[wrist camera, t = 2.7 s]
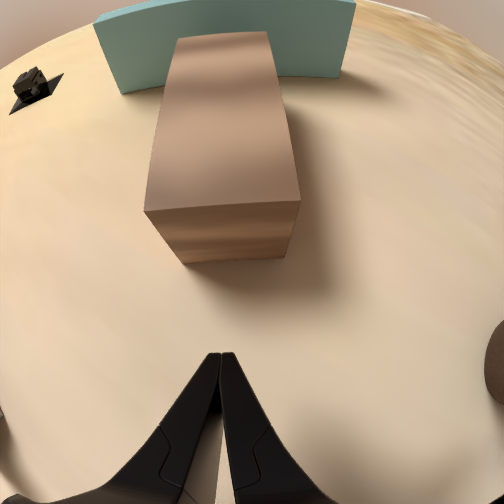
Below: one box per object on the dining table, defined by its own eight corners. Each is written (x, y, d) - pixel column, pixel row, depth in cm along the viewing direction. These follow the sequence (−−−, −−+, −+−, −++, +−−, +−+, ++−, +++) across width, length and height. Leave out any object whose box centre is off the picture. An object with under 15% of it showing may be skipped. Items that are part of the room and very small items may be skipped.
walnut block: (283, 258, 20) (301, 200, 12) (182, 264, 20) (143, 211, 12) (264, 100, 25) (266, 31, 18) (192, 105, 25) (178, 38, 18)
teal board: (338, 78, 27) (356, 3, 17) (121, 94, 26) (92, 24, 17) (321, 43, 29) (331, -20, 20) (136, 56, 29) (117, -4, 20)
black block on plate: (75, 69, 31) (64, 48, 26) (59, 98, 28) (45, 75, 24) (18, 95, 30) (7, 77, 26) (2, 125, 28) (-13, 107, 23)
